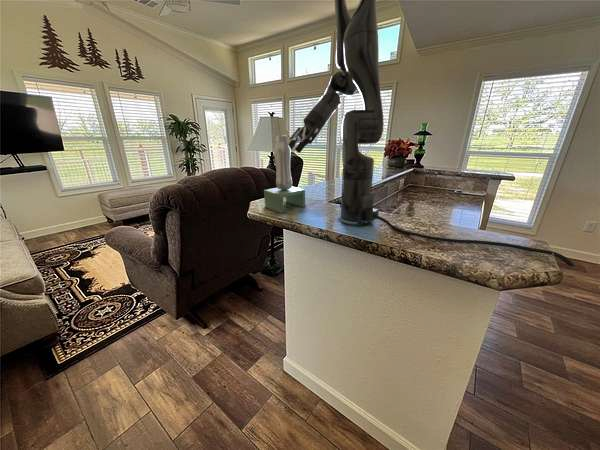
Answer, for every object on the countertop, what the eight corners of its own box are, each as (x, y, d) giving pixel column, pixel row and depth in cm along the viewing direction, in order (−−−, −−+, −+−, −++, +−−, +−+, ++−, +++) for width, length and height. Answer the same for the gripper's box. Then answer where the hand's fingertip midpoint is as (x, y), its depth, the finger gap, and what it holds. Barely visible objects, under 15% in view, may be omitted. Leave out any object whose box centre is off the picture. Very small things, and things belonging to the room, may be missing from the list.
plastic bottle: (295, 188, 94) (293, 134, 86) (287, 192, 88) (284, 135, 81) (281, 187, 96) (278, 135, 89) (272, 190, 91) (269, 135, 83)
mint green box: (305, 206, 94) (304, 189, 92) (281, 213, 87) (280, 194, 84) (288, 201, 102) (287, 185, 99) (265, 207, 95) (263, 190, 92)
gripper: (303, 110, 93) (278, 142, 92) (322, 107, 81) (293, 144, 80) (314, 125, 97) (290, 156, 96) (334, 123, 85) (307, 158, 84)
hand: (292, 150), depth 88 cm, fingers open, 8 cm apart
